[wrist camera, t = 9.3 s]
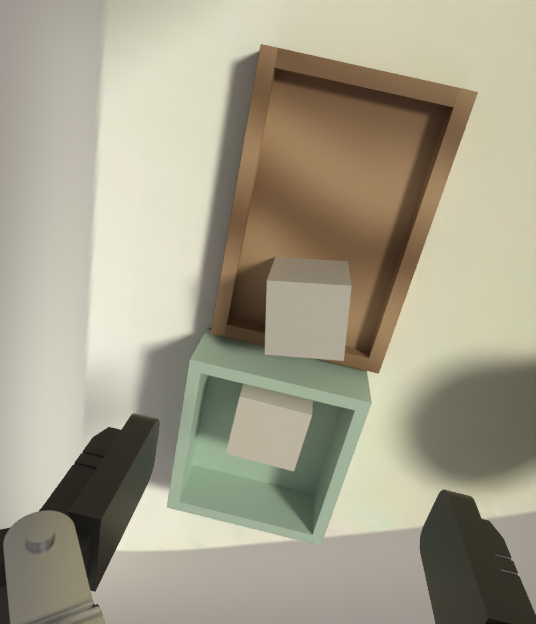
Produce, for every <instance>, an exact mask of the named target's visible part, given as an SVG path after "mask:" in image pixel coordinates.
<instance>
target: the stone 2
mask: <svg viewBox="0 0 536 624" xmlns="http://www.w3.org/2000/svg"><path fill="white" fill-rule="evenodd" d="M312 409H313V400H309V399H305V398H301V397H297V396H293V395H289V394H285V393H280V392H276V391H272V390H268V389H264V388H260V387H255V386H251V385H247V384H243V387H242V390H241V394H240V397H239V401H238V405H237V410H236V414H235V418H234V422H233V426H232V430H231V434H230V439H229V443H228V447H227V451H226V454H229V455H233V456H237V457H240V458H244V459H248V460H252V461H256V462H260V463H263V464H267V465H271V466H275V467H279V468H282V469H286V470H290V471H294V470H295V467H296V464H297V461H298V457H299V454H300V451H301V448H302V445H303V442H304V439H305V436H306V433H307V430H308V427H309V424H310V420H311V417H312Z"/></svg>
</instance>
